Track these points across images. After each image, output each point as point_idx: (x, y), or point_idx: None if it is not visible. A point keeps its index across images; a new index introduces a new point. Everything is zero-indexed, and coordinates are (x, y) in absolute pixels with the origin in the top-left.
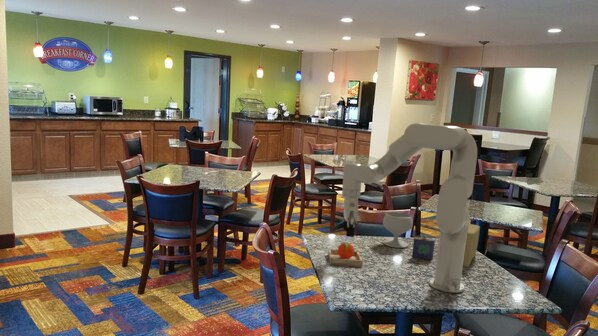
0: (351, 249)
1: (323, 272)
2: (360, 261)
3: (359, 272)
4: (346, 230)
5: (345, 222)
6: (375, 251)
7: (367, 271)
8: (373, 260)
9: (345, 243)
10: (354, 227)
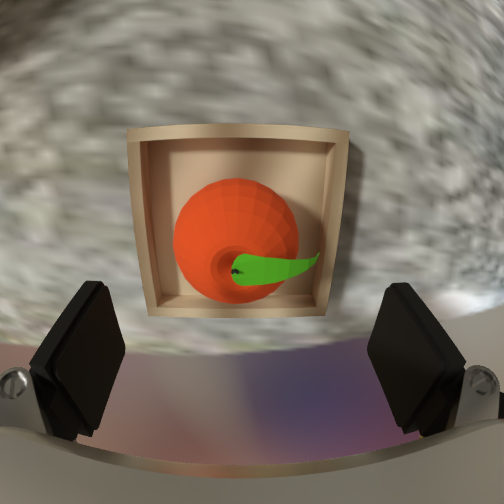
0: (285, 217)
1: None
2: (347, 146)
3: (414, 168)
4: (392, 396)
5: (94, 420)
6: (31, 37)
7: (398, 120)
8: (190, 36)
9: (249, 280)
10: (463, 362)
